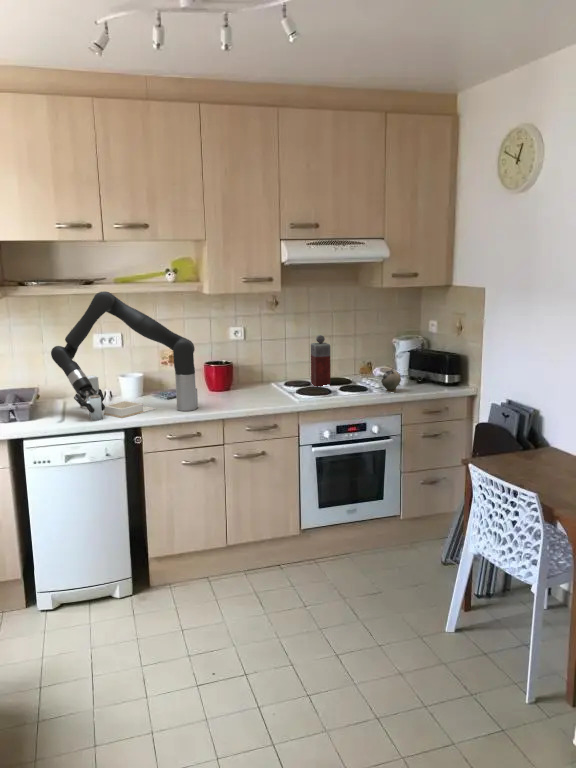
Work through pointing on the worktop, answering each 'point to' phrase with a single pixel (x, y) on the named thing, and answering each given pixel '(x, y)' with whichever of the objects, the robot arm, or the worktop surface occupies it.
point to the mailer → (125, 409)
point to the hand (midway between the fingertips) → (98, 410)
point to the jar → (95, 407)
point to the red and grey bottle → (320, 362)
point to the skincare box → (93, 384)
